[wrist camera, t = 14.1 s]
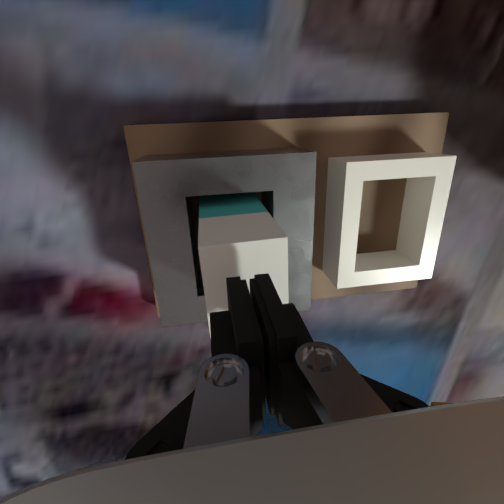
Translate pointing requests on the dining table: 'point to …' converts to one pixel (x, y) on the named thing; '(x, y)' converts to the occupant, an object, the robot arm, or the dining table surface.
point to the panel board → (326, 145)
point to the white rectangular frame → (411, 223)
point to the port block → (212, 183)
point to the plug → (239, 246)
